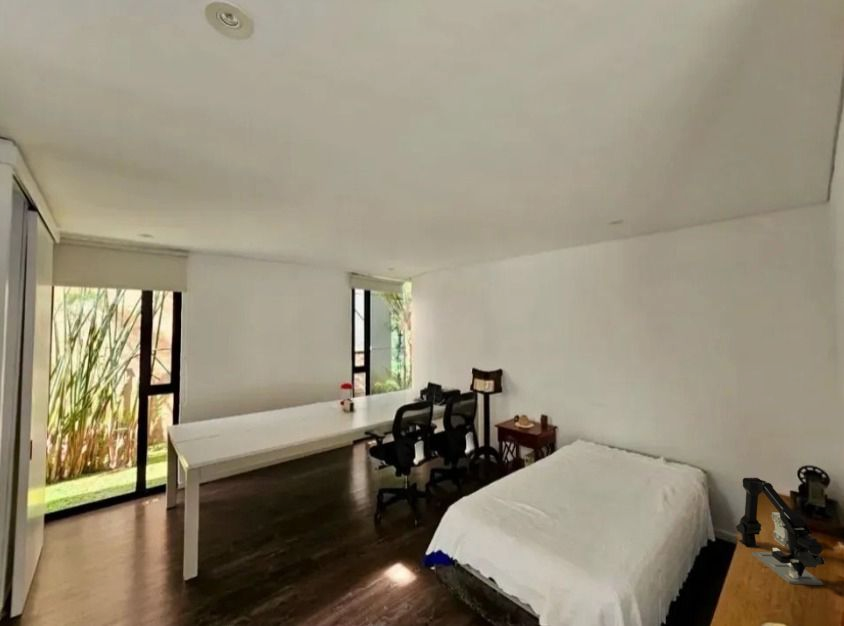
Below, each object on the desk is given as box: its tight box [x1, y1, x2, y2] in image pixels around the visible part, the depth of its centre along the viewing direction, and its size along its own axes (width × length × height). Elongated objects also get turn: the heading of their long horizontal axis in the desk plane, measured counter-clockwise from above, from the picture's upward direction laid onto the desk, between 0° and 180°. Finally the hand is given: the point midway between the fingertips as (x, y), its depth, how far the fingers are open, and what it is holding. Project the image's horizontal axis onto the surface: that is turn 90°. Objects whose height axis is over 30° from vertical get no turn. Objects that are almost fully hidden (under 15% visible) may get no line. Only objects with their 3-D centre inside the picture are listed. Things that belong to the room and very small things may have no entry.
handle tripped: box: [789, 568, 798, 579], centre depth 179 cm, size 2×2×3 cm
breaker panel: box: [751, 551, 824, 586], centre depth 187 cm, size 24×14×1 cm, turn 172°
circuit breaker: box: [771, 511, 811, 548], centre depth 209 cm, size 8×14×15 cm, turn 78°
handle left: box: [772, 547, 781, 552], centre depth 196 cm, size 2×2×3 cm
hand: (799, 575), depth 179 cm, fingers closed
